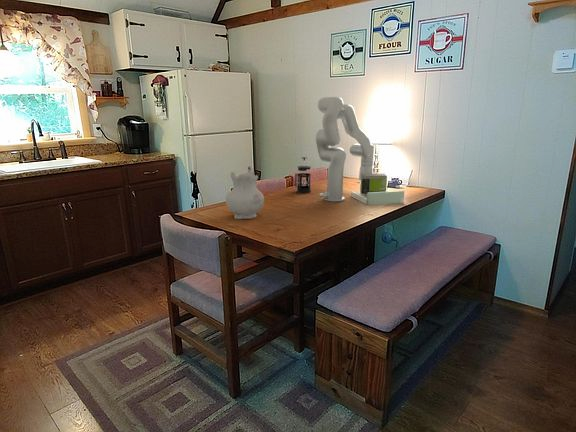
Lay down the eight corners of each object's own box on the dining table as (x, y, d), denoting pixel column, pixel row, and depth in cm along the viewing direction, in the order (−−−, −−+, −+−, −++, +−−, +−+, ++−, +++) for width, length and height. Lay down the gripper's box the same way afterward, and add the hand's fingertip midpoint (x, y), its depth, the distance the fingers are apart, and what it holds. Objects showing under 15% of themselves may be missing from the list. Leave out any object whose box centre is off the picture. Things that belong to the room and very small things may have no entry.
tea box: (383, 196, 244) (385, 173, 240) (385, 199, 234) (387, 175, 230) (359, 195, 245) (360, 172, 241) (360, 199, 235) (362, 175, 231)
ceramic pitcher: (232, 212, 210) (227, 167, 203) (267, 209, 209) (263, 164, 202) (225, 223, 190) (218, 174, 183) (264, 221, 189) (259, 171, 182)
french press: (314, 191, 256) (315, 157, 250) (307, 194, 248) (307, 158, 242) (299, 189, 262) (299, 155, 256) (291, 192, 255) (292, 157, 248)
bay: (367, 205, 221) (368, 193, 219) (350, 196, 243) (351, 185, 241) (403, 202, 227) (404, 191, 225) (383, 194, 249) (384, 183, 247)
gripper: (356, 162, 250) (354, 189, 255) (366, 165, 236) (365, 194, 241) (366, 161, 252) (365, 189, 257) (377, 165, 238) (375, 193, 243)
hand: (365, 191), depth 249 cm, fingers closed
